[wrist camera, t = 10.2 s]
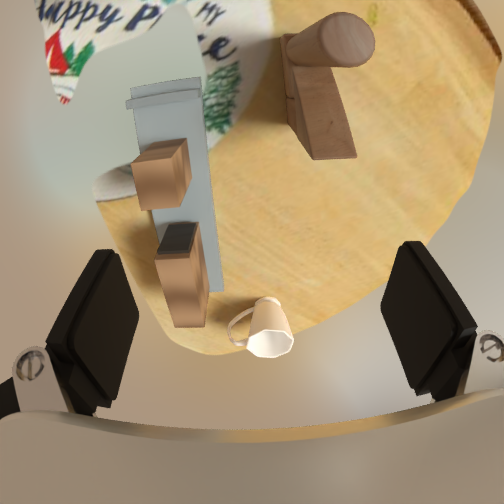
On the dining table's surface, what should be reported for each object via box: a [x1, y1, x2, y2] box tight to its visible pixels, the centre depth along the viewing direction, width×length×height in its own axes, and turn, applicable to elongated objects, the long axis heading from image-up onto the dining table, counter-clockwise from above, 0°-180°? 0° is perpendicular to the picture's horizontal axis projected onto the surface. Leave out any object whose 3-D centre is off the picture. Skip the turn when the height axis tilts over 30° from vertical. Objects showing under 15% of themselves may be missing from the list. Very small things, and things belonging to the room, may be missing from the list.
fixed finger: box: [154, 222, 210, 328], centre depth 38 cm, size 11×4×8 cm, turn 3°
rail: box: [126, 77, 224, 292], centre depth 36 cm, size 30×8×3 cm, turn 3°
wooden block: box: [280, 12, 375, 160], centre depth 22 cm, size 4×11×18 cm, turn 6°
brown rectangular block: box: [131, 138, 192, 211], centre depth 31 cm, size 5×4×8 cm
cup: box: [227, 297, 294, 358], centre depth 46 cm, size 7×10×8 cm
